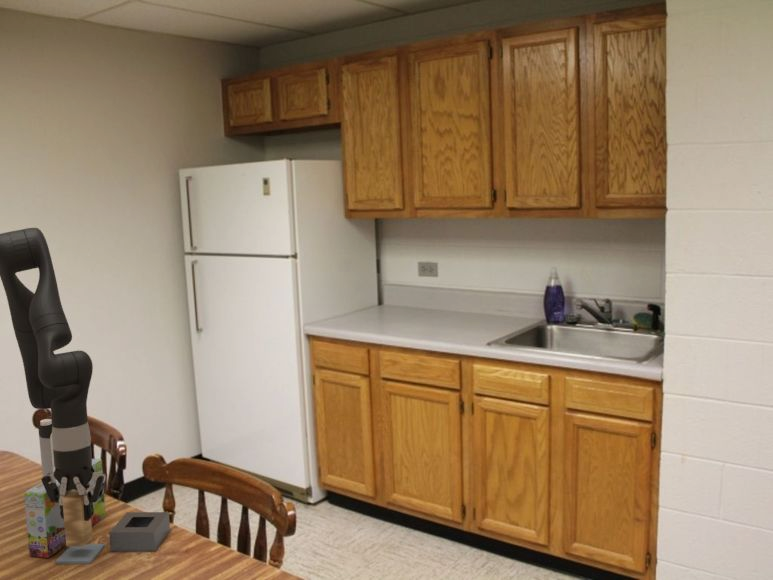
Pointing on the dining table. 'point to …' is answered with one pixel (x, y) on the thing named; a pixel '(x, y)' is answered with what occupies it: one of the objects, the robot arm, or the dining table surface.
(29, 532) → the snack box
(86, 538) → the square peg
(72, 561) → the rubber mat
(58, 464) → the robot arm
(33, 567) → the dining table surface
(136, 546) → the socket block
